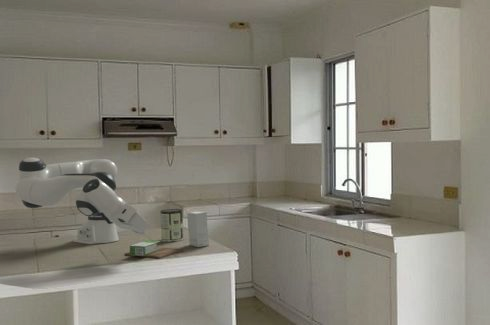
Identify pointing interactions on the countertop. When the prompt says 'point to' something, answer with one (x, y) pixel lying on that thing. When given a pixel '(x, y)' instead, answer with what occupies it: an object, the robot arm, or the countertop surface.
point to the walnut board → (160, 252)
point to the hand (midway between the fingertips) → (141, 234)
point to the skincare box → (198, 229)
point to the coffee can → (171, 225)
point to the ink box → (144, 248)
